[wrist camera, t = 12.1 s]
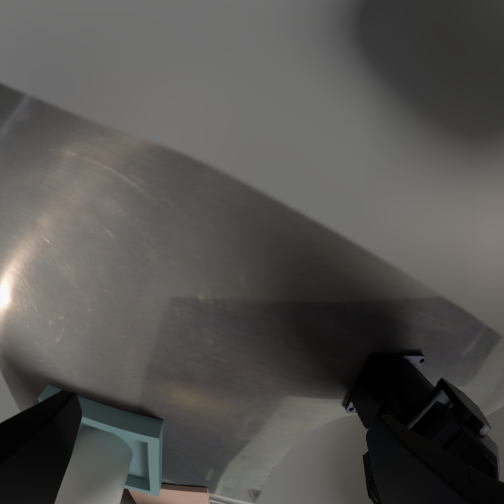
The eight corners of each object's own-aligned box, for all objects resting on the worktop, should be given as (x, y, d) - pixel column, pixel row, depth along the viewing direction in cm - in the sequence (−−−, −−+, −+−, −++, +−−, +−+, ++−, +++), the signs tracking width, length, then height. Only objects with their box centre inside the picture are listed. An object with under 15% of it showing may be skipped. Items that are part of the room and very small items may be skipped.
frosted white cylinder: (131, 437, 21) (99, 549, 9) (134, 468, 23) (113, 563, 10) (75, 419, 21) (27, 517, 8) (84, 452, 22) (50, 539, 9)
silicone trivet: (207, 487, 25) (207, 492, 24) (211, 509, 26) (211, 514, 26) (125, 477, 24) (124, 482, 23) (138, 501, 26) (137, 505, 25)
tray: (163, 420, 22) (159, 438, 20) (161, 481, 24) (159, 496, 22) (48, 384, 21) (37, 397, 18) (68, 452, 23) (62, 465, 21)
